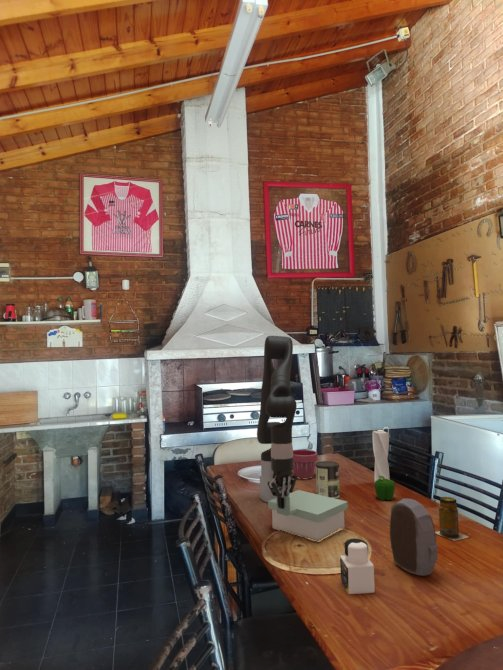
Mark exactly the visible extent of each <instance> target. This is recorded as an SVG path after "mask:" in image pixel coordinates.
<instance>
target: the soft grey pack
mask: <svg viewBox="0 0 503 670" xmlns="http://www.w3.org/2000/svg"><path fill="white" fill-rule="evenodd" d="M390 509H391V510H390V522H389V539H390V548H391V552H392V557H393V562H395V564H396V565H397V566H398V567H400V568H401V569H403V570H405V571H406V572H408V573H411V574H413V575H416V576H420V577H422V576H423V577H424V576H430V575H431V574H432V573H433V571H434V568H435V565H436V563H437V560H438V544H437V536H436V535H437V534H436V533H435V532H436V529H435V528H436V527H435V524H434V521H433V518H432V516H431V514H430V513H429V511H428V510H427V509H426V507H425V506H424V505H423V504H422V503H420V502H419V501H417V500H415V499H412V498H405V497H404V498H402V499H401V500H399V501H397V502H395V504H393V505H392V506H391V508H390Z"/></svg>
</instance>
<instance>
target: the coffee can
mask: <svg viewBox="0 0 503 670" xmlns="http://www.w3.org/2000/svg"><path fill="white" fill-rule="evenodd" d="M339 466H340V464H339V462H336V461H329V460H328V461H326V460H324V461H318V462H317V461H316V463H315V480H316V482H315V484H316V486H315V487H316V489H315V490H316V494H318V495H322V496H326V497H330V498H334V499H340V497H341V495H340V494H341V493H340V470H339Z"/></svg>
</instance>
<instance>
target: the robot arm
mask: <svg viewBox="0 0 503 670" xmlns="http://www.w3.org/2000/svg"><path fill="white" fill-rule="evenodd" d="M293 349H294V344H293V340H292V338H291V337H289V336H281V335H279V336H278V335H268V336H267V337H265V340H264V347H263V350H264V352H263V356H264V357H263V372H262V373H263V375H262V382H261V391H260V409H259V416H258V423H257V430H256V438H257V442H258V443H259V444H260V445H270V444H271V445H270V446H271V447H270V448H269V449H266V450H264V451H262V452H261V453H260V466H261V467H260V470H261V475H260V476H259V499H260V500H261V501H263V502H265V503H268V501H270V500H272V499H275V498H278V508H280V509H284V498H283V497H284V495H285V496H289V494H290V493H292V492H294V489H295V486H296V482H297V480H298V479H297V476H295V475H294V473H293V471H294V470H293V450H294V447H293V425H294V424H293V423H294V419H295V416H296V412H297V408H298V407H297V406H298V405H297V401H296V399H295V398H294V397H292V396H290V394H291V369H292V365H293V364H292V363H293V361H292V360H293V353H294V352H293V351H294V350H293ZM272 360H280V361H281V360H282V361H281V363H280V364H279V365H278V366H277V367H276V368H275V366H274V364H273V361H272ZM270 418H272V419H273V418H276V419H277V418H285V420H284V421H283V422H279V421H269V420H270Z"/></svg>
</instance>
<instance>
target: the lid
mask: <svg viewBox="0 0 503 670" xmlns="http://www.w3.org/2000/svg"><path fill="white" fill-rule="evenodd" d="M283 498H284V509H280V508H278V498H275V499H272V500H270V501H268V502H267V509H270V510H272V509H273V510H276V511H277V513H279V514H282V515H285V516H288V515H294V516H297V517H301V518H304V519H308V520H311V521H315V522H320V521H322V520H325V519H327V518H329V517H331V516H333V515H335V514H338V513H340V512H342V511H344V512H345V510H348V508H349V502H348V501H347V500H342V499H340V498H336V499H334V498H330V497H326V496H322V495H318V494H317V493H313V492H308V491H305V490H300V489H298V490H295V491H293V492H292V493H290V494H289V496H285V495H284V497H283Z"/></svg>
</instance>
